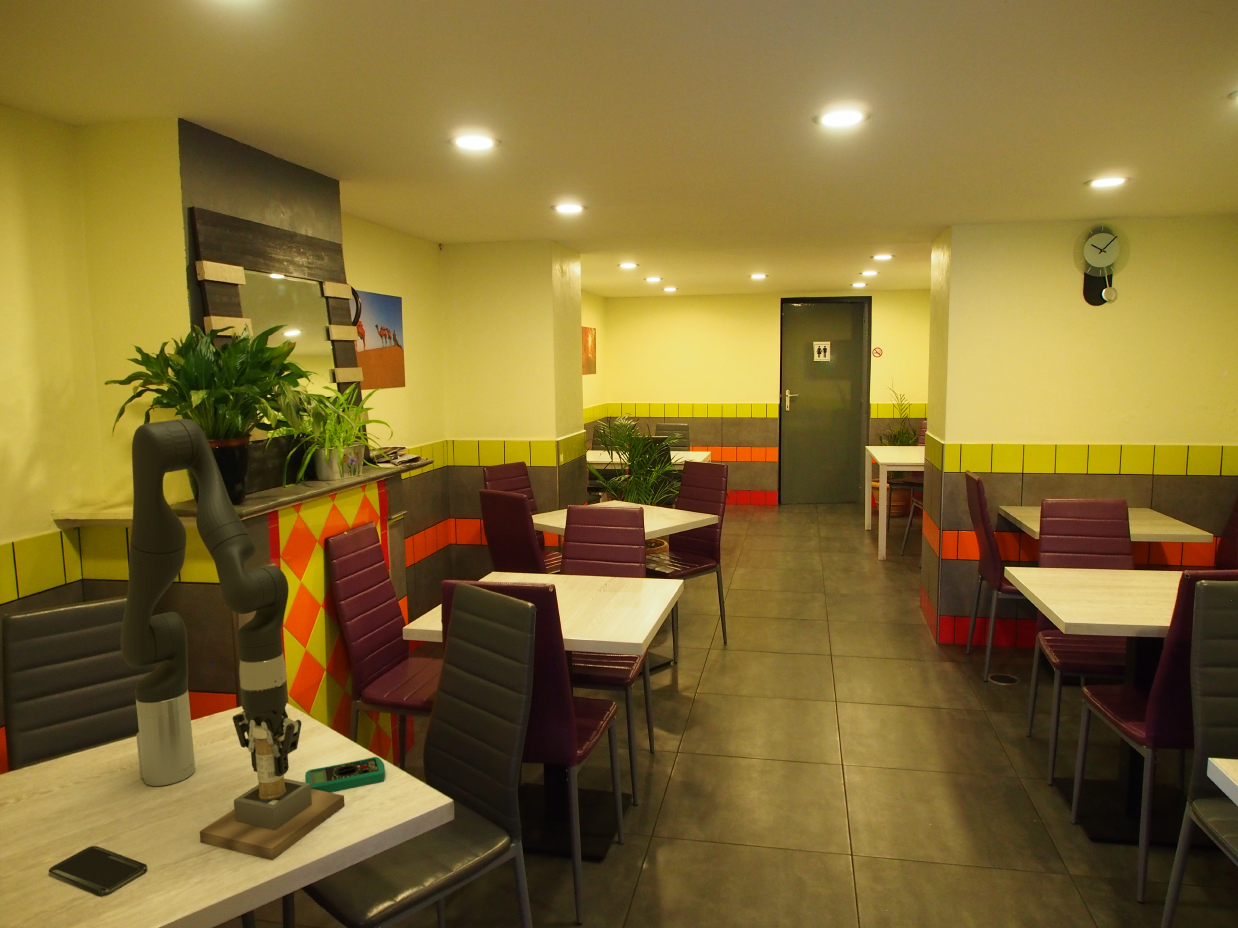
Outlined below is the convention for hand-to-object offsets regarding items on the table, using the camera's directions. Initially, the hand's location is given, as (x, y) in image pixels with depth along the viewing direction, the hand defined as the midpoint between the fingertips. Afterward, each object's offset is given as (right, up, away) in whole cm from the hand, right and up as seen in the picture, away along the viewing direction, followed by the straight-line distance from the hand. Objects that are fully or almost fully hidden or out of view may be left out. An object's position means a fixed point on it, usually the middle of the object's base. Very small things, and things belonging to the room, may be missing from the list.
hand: (270, 771), depth 147 cm
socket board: (0, -10, +1) cm, 10 cm away
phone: (-23, -13, -12) cm, 29 cm away
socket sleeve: (0, -8, +1) cm, 8 cm away
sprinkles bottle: (0, -5, 0) cm, 4 cm away
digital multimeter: (+8, -8, +16) cm, 20 cm away
